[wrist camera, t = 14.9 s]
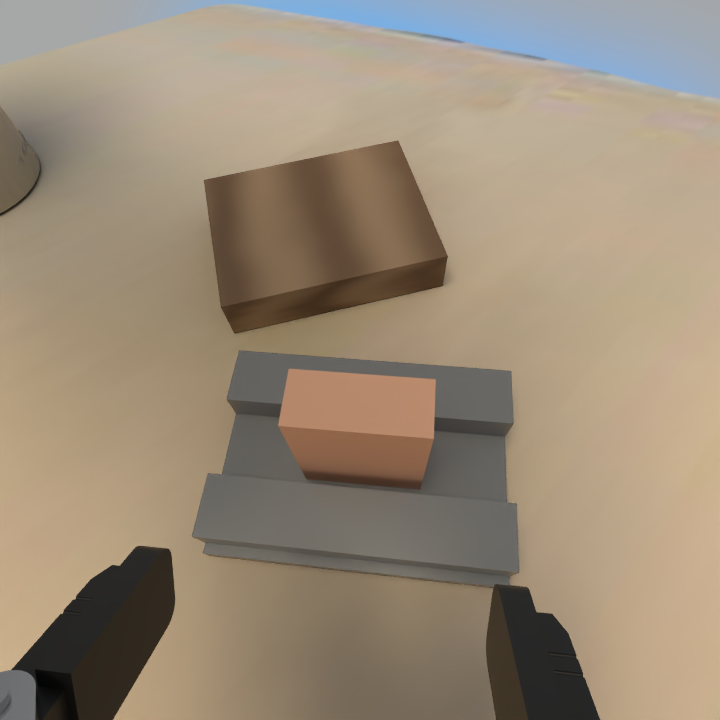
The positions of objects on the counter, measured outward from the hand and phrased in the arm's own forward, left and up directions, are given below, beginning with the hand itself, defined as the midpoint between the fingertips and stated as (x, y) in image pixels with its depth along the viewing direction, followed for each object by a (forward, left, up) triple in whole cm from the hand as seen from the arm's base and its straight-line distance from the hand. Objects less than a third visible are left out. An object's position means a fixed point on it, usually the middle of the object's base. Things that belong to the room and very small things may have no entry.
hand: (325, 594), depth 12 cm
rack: (+2, +7, -14) cm, 15 cm away
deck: (+3, +23, -14) cm, 27 cm away
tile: (+2, +7, -13) cm, 15 cm away
